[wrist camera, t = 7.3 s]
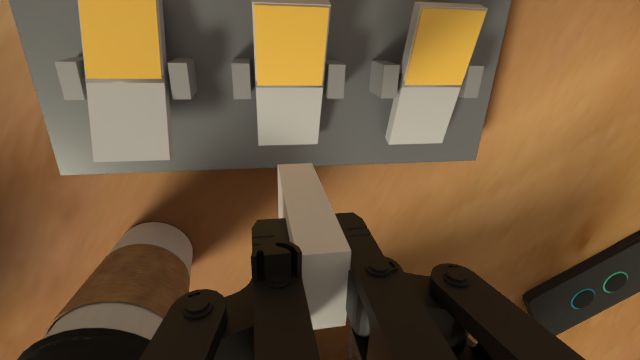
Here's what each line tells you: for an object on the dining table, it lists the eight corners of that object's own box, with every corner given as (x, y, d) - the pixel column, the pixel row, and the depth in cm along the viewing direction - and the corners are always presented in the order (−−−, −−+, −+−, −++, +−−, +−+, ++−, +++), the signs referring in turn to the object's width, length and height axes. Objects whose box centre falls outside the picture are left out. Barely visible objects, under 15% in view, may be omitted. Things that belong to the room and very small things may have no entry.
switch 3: (384, 137, 26) (389, 145, 25) (414, 1, 20) (421, 6, 19) (436, 136, 26) (442, 144, 26) (479, 4, 21) (489, 8, 20)
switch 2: (258, 137, 25) (258, 146, 24) (251, -5, 18) (251, 2, 18) (315, 135, 25) (317, 145, 24) (328, -2, 19) (331, 5, 18)
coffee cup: (129, 190, 28) (12, 351, 14) (226, 235, 31) (203, 403, 18) (85, 267, 30) (-53, 470, 17) (179, 302, 33) (128, 498, 20)
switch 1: (101, 161, 21) (92, 162, 20) (85, -3, 20) (75, -11, 19) (173, 159, 21) (169, 160, 20) (162, 0, 20) (157, -8, 19)
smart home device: (528, 302, 39) (699, 210, 38) (518, 291, 41) (681, 202, 39) (544, 343, 43) (701, 261, 41) (534, 332, 44) (684, 252, 43)
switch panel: (80, 158, 26) (39, 192, 21) (25, -49, 21) (-47, -69, 16) (456, 147, 31) (495, 173, 26) (490, -23, 26) (547, -33, 21)
